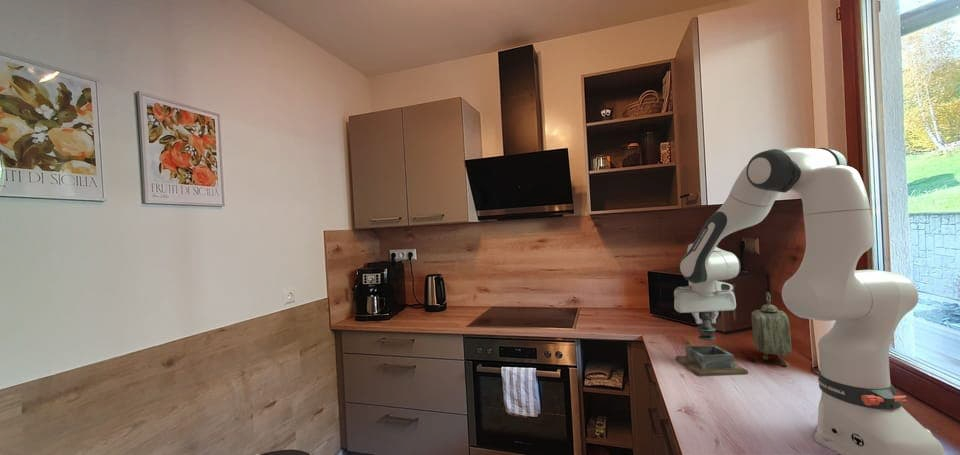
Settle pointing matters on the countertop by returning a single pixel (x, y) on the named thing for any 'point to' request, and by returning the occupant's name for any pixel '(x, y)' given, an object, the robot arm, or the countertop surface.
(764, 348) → the green tall textured piece
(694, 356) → the socket caddy
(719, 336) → the countertop surface
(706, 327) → the grey chess piece
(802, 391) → the countertop surface
